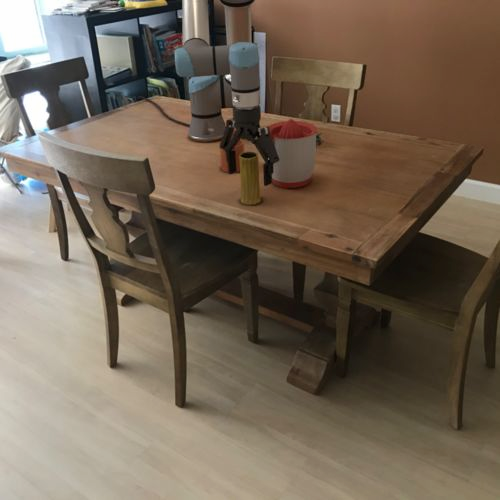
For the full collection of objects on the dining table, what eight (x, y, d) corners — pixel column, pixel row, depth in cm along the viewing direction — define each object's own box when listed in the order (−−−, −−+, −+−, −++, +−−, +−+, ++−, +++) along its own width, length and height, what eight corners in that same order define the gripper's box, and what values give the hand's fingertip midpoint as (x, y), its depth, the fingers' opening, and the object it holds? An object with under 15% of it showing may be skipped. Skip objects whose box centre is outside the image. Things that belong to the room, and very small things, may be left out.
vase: (238, 204, 150) (235, 158, 143) (242, 195, 155) (239, 150, 148) (259, 205, 149) (257, 159, 142) (262, 196, 154) (260, 151, 147)
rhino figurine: (318, 150, 184) (319, 134, 181) (293, 140, 193) (293, 125, 190) (327, 147, 186) (327, 131, 183) (301, 138, 195) (301, 122, 192)
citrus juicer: (253, 178, 166) (250, 117, 155) (301, 167, 171) (301, 108, 161) (274, 197, 153) (273, 132, 143) (325, 185, 159) (327, 121, 148)
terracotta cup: (216, 169, 173) (214, 143, 169) (232, 161, 178) (231, 136, 174) (234, 174, 169) (232, 148, 164) (250, 166, 174) (248, 141, 169)
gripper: (203, 101, 142) (210, 172, 154) (273, 117, 128) (275, 194, 139) (222, 94, 147) (227, 163, 158) (292, 110, 132) (292, 184, 144)
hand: (249, 178), depth 149 cm, fingers open, 13 cm apart
